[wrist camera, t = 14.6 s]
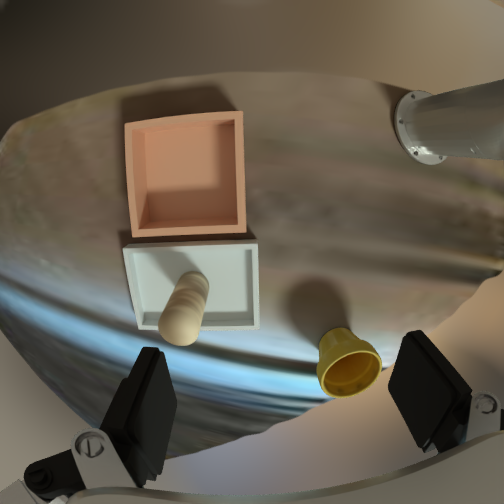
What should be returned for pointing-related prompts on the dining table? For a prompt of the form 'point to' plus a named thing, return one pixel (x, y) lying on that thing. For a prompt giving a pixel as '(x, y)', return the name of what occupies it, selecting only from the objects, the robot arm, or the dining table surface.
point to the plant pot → (346, 364)
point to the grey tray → (207, 263)
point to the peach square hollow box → (186, 174)
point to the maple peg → (184, 309)
